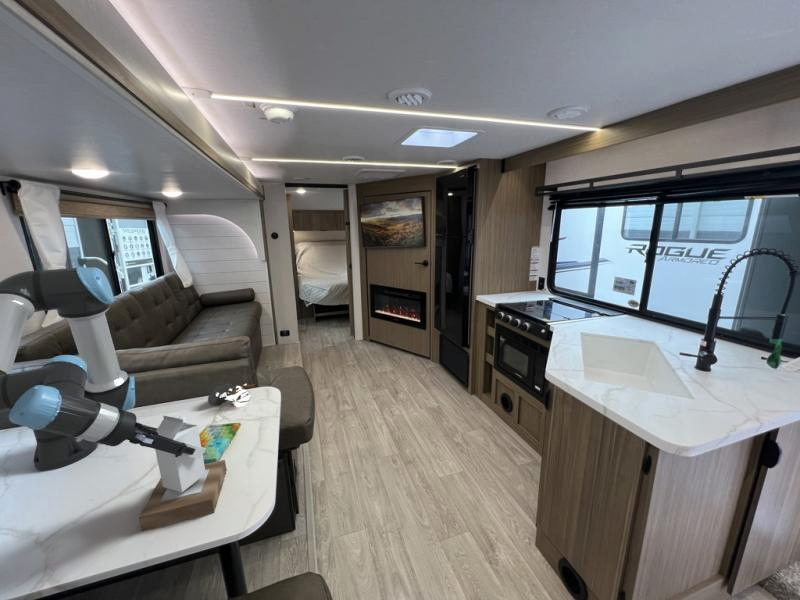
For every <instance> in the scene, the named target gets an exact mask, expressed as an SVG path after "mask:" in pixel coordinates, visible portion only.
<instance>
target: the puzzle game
mask: <svg viewBox="0 0 800 600" xmlns="http://www.w3.org/2000/svg"><path fill="white" fill-rule="evenodd" d="M241 426H242V423H241V422H229V423H219V424H209V425H206V426H205V427H204V429H203V430H202V431H201V432H200V433H199V437H200V443H201V447H203V448H206V450H205V452H204V453H203V460H204V464H207V463H212V462H217V461H221V458H222V456H223V455H224V454H225V452H226V451H227V449H228V447H229V446H230V445H231V443H232V442H233V440H234V438H235V437H236V436H237V432H238V430H239V429H241ZM231 441H232V442H231ZM229 444H230V445H229Z"/></svg>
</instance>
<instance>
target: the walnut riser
mask: <svg viewBox="0 0 800 600" xmlns="http://www.w3.org/2000/svg"><path fill="white" fill-rule="evenodd" d="M204 466H205V471H206V474H205V475H204V476H202V477H201V478H200V479H199V480H197V481H196V482H195V483H193V484H192V485H191V486H190V487H188V488H187V489H186V490H185V491H183V492H178V491H175V490H172V489H168V488H165V487H163V484H162V480H161V477H160V479H159V481H158V482H157V484H156V486H155V488H154V489H153V491H152V493H151V494H150V496H149V498H148V499H147V501H146V503H145V504H144V506H143V508H142V510H141V512H140V514H139V515H138V516H137V517H138V522H139V526H140V531H142V532H143V531H147V530H151V529H154V528H158V527H162V526H167V525H171V524H175V523H178V522H182V521H186V520H190V519H194V518H197V517H202V516H207V515H211V514H214V513H215V511H216V508H217V504H218V502H219V499H220V495H221V492H222V490H223V489H222V488H223V485H224V482H225V479H224V478H226V476H227V473H226V471H228V469H227V464H226V459H222V460H221V459H220V460H219V461H217V462H212V463H207V464H204ZM225 475H226V476H225Z"/></svg>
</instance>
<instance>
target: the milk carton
mask: <svg viewBox="0 0 800 600" xmlns="http://www.w3.org/2000/svg"><path fill="white" fill-rule="evenodd" d="M162 416H163V420H162V421H161V423H160V424H159V426H157V428H158V429H157V430H156V431H157V432H158V435H161V436H164V437H167V438H170V439H172V440H175V441H178V442H181V443H183V442H185V443H189V444H192V445H196V446H199V447H201V443H200V437H199V434H200V433H199V428H198V425H196V424H193V423H188V418H186V417H182V416H179V417H176V416H173V415H172V416H171V415H166V414H163V415H162ZM154 450H155V454H156V459H157V465H158V469H159V473H160V478H161V480H162V484H163V487H165V488H168V489H172V490H175V491H178V492H183V491H185V490H186V489H187V488H188V487H190V486H191V485H192V484H193V483H195V482H196V481H197V480H199V479H200V478H201V477H202V476H204V475H205V474H206V471H205V466H204V460H203V455H202V457H201V458H200V459H197V458H193V457H189V456H185V455H181V456H178V457H175V454H171V453H168V452H164V451H161V450H157V449H154Z"/></svg>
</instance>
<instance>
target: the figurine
mask: <svg viewBox="0 0 800 600" xmlns="http://www.w3.org/2000/svg"><path fill="white" fill-rule="evenodd" d="M255 386H256V383H251V384H249V383H245V384H242V385H236V386H234V385H232V384H231V383H230V382H227V383H225V384H222V385H219V386H215V387H214V388H213V389H212V390H211V391H210V392H209V395H208V398H207V402H208V405H209V406H212V407H213V406H215V407H216V406H219V405H220V404H222V403H224V402H226V401H227V402H229V404H228V405H230V406H233V407H239V408H240V407H243V406H246V405H247V404H248V403H249V402H250V401H251V397H252V396H251V393H250V392H249V391H248V390H246V389H245V388H252V387H255ZM231 403H232V404H231Z"/></svg>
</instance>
